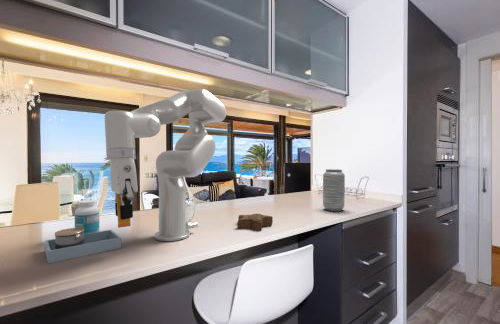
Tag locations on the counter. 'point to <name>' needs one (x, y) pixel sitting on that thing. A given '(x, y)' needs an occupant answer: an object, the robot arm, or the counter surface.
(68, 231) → the tin
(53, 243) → the tote
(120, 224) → the supplement box
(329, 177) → the vase
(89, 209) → the pill bottle
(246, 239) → the counter surface
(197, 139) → the robot arm
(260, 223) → the decorative item
